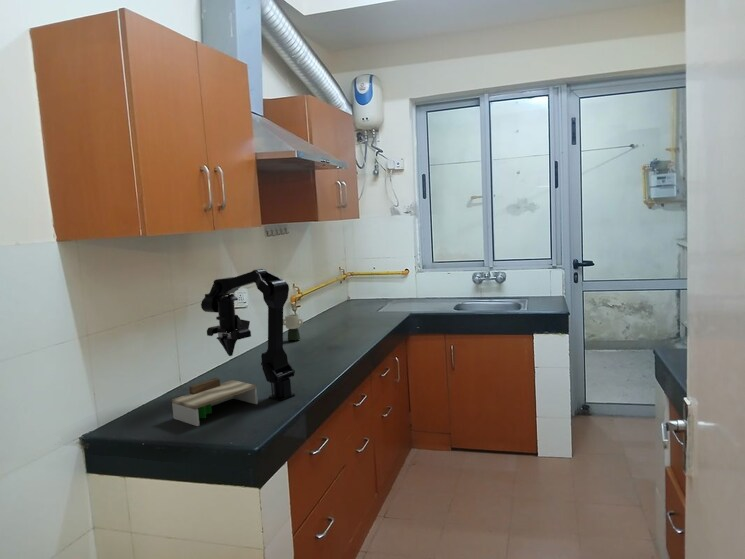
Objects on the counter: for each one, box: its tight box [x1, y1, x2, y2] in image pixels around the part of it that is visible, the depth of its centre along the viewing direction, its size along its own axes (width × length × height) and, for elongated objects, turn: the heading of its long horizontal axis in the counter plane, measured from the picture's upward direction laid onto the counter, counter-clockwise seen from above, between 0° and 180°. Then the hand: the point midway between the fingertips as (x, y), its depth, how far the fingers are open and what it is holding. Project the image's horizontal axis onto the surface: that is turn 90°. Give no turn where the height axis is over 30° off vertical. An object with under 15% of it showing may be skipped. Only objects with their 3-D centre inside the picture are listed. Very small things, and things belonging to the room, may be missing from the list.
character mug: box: [283, 313, 304, 341], centre depth 268 cm, size 11×7×13 cm, turn 74°
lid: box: [171, 377, 258, 409], centre depth 169 cm, size 13×23×3 cm, turn 141°
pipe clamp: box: [197, 404, 213, 419], centre depth 166 cm, size 10×4×4 cm, turn 172°
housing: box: [171, 388, 259, 427], centre depth 170 cm, size 13×23×5 cm, turn 141°
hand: (230, 355), depth 192 cm, fingers closed
